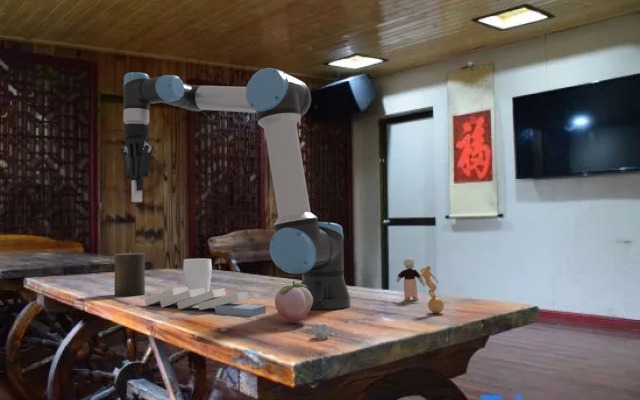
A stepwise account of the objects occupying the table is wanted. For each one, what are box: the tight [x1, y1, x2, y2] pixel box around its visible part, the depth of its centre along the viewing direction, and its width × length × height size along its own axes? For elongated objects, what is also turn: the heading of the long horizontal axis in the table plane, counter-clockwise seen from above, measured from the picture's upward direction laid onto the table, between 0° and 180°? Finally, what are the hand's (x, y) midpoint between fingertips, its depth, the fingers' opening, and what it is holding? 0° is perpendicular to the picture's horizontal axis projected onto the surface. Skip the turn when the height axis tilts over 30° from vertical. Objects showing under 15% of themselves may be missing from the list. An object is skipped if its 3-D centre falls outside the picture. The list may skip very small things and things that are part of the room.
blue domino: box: [214, 302, 267, 317], centre depth 150 cm, size 2×6×12 cm
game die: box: [311, 322, 331, 340], centre depth 117 cm, size 4×4×3 cm
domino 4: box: [198, 291, 249, 311], centre depth 155 cm, size 2×6×12 cm
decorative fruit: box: [274, 280, 313, 324], centre depth 134 cm, size 9×8×10 cm
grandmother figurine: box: [396, 256, 422, 302], centre depth 170 cm, size 8×4×13 cm, turn 92°
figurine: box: [419, 265, 445, 314], centre depth 147 cm, size 8×6×12 cm
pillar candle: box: [113, 249, 146, 297], centre depth 192 cm, size 10×10×15 cm
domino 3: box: [176, 287, 227, 310], centre depth 157 cm, size 2×6×12 cm
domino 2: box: [160, 288, 205, 308], centre depth 161 cm, size 2×6×12 cm
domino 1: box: [144, 286, 189, 307], centre depth 165 cm, size 2×6×12 cm
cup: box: [182, 257, 213, 292], centre depth 184 cm, size 9×9×12 cm
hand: (136, 201), depth 174 cm, fingers closed
